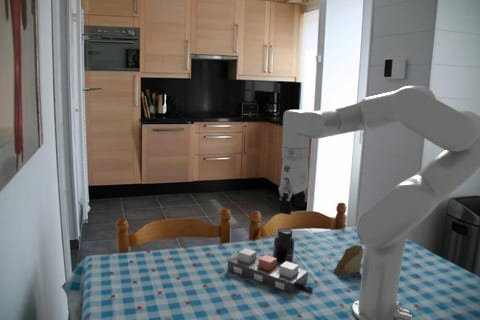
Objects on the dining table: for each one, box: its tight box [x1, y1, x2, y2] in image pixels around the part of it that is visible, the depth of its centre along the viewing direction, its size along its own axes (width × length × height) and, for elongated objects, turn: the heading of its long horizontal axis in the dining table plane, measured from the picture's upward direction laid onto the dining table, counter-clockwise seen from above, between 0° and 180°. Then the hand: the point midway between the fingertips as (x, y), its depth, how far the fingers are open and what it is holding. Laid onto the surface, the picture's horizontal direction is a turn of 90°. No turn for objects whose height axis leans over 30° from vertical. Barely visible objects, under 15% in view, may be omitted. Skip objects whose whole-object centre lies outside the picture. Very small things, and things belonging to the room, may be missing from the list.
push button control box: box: [227, 253, 314, 295], centre depth 133 cm, size 27×10×4 cm, turn 56°
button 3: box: [238, 248, 258, 264], centre depth 138 cm, size 4×4×6 cm
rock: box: [332, 244, 364, 276], centre depth 141 cm, size 11×9×10 cm
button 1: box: [279, 261, 300, 278], centre depth 130 cm, size 4×4×6 cm
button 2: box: [258, 254, 277, 271], centre depth 134 cm, size 4×4×6 cm
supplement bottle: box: [272, 227, 295, 264], centre depth 144 cm, size 7×7×12 cm
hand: (292, 209), depth 128 cm, fingers open, 9 cm apart
